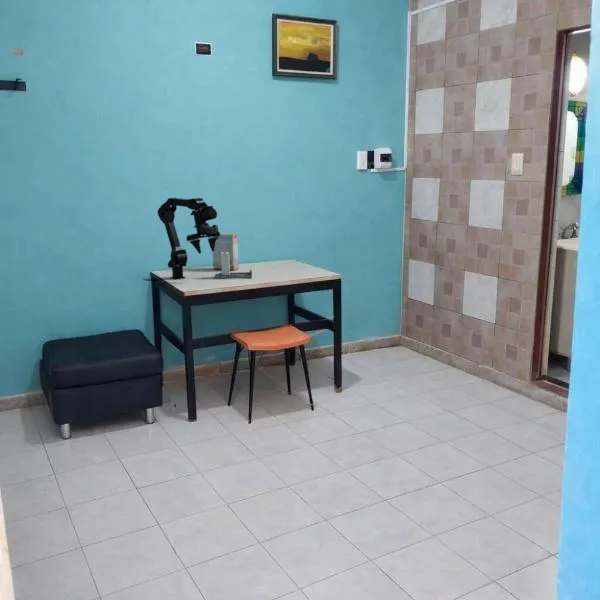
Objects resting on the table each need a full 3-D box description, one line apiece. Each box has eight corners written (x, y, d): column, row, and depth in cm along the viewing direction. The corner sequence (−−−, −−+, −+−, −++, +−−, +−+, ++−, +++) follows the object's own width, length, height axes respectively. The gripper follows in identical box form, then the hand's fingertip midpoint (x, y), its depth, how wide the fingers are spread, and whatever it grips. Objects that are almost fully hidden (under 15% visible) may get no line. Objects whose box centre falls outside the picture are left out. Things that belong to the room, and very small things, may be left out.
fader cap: (221, 275, 350) (221, 252, 348) (222, 274, 355) (221, 251, 352) (229, 275, 350) (228, 252, 348) (229, 274, 355) (229, 251, 352)
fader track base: (214, 279, 348) (213, 273, 347) (215, 275, 357) (215, 270, 357) (251, 278, 349) (251, 272, 348) (252, 275, 358) (251, 269, 358)
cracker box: (239, 269, 378) (237, 233, 373) (233, 271, 372) (232, 234, 368) (218, 267, 383) (217, 232, 379) (213, 269, 378) (211, 233, 374)
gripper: (197, 221, 321) (203, 252, 322) (224, 218, 335) (230, 248, 336) (183, 225, 328) (189, 255, 329) (209, 222, 342) (215, 251, 343)
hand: (206, 252), depth 334 cm, fingers open, 9 cm apart
